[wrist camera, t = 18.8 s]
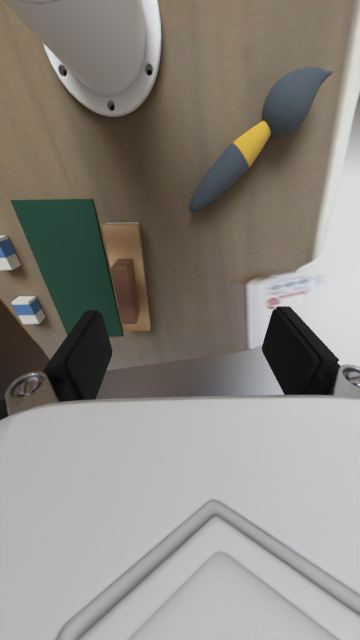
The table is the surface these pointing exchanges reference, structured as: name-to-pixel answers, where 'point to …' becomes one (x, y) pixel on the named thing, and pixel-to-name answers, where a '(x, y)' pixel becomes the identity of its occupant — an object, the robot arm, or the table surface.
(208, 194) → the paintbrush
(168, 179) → the table surface
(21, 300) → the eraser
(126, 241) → the scrub brush
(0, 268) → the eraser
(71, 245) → the desk mat
